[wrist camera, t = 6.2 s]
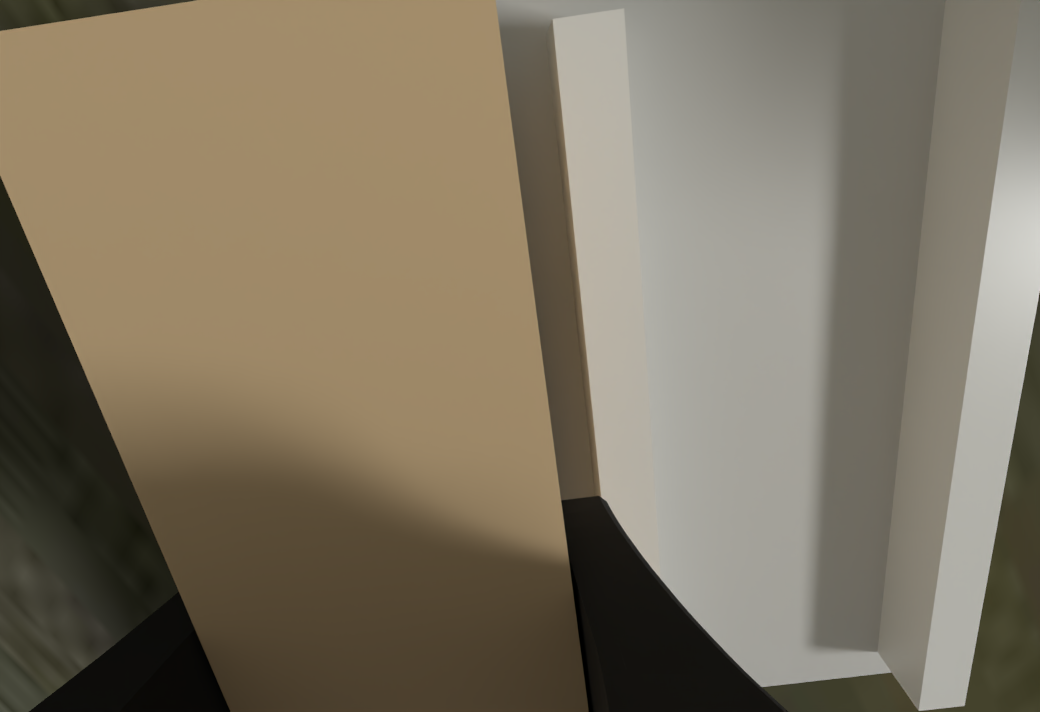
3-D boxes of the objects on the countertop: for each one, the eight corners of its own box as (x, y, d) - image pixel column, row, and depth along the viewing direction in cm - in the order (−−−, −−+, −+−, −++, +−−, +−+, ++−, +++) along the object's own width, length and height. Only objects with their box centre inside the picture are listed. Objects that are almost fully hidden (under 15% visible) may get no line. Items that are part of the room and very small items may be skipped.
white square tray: (939, 645, 16) (1041, 768, 13) (334, 714, 16) (294, 848, 13) (1051, -89, 10) (1287, -181, 7) (107, 56, 10) (-54, 27, 7)
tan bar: (588, 717, 14) (629, 1018, 9) (418, 736, 14) (372, 1041, 9) (500, 45, 9) (489, -47, 4) (237, 84, 9) (-60, 40, 4)
